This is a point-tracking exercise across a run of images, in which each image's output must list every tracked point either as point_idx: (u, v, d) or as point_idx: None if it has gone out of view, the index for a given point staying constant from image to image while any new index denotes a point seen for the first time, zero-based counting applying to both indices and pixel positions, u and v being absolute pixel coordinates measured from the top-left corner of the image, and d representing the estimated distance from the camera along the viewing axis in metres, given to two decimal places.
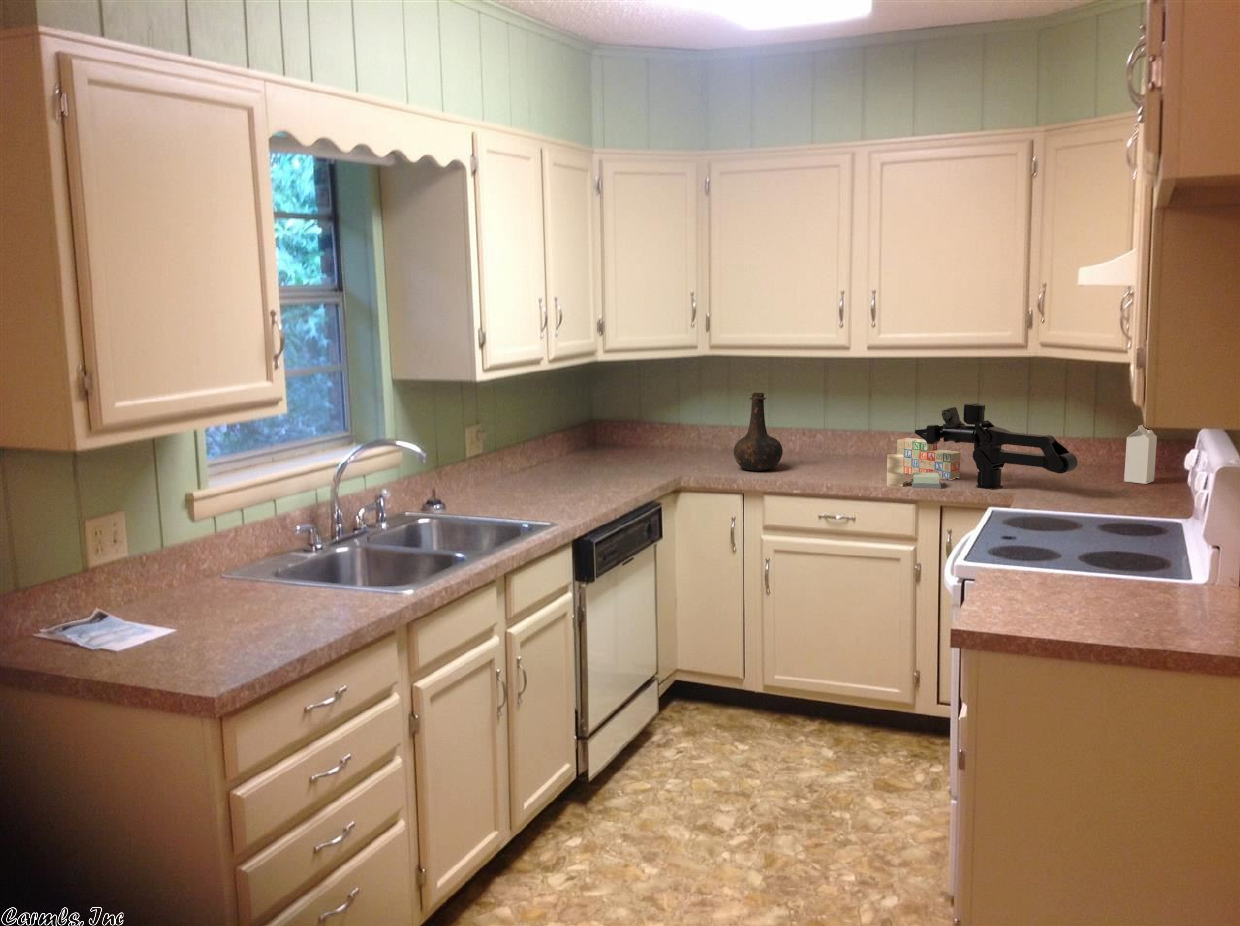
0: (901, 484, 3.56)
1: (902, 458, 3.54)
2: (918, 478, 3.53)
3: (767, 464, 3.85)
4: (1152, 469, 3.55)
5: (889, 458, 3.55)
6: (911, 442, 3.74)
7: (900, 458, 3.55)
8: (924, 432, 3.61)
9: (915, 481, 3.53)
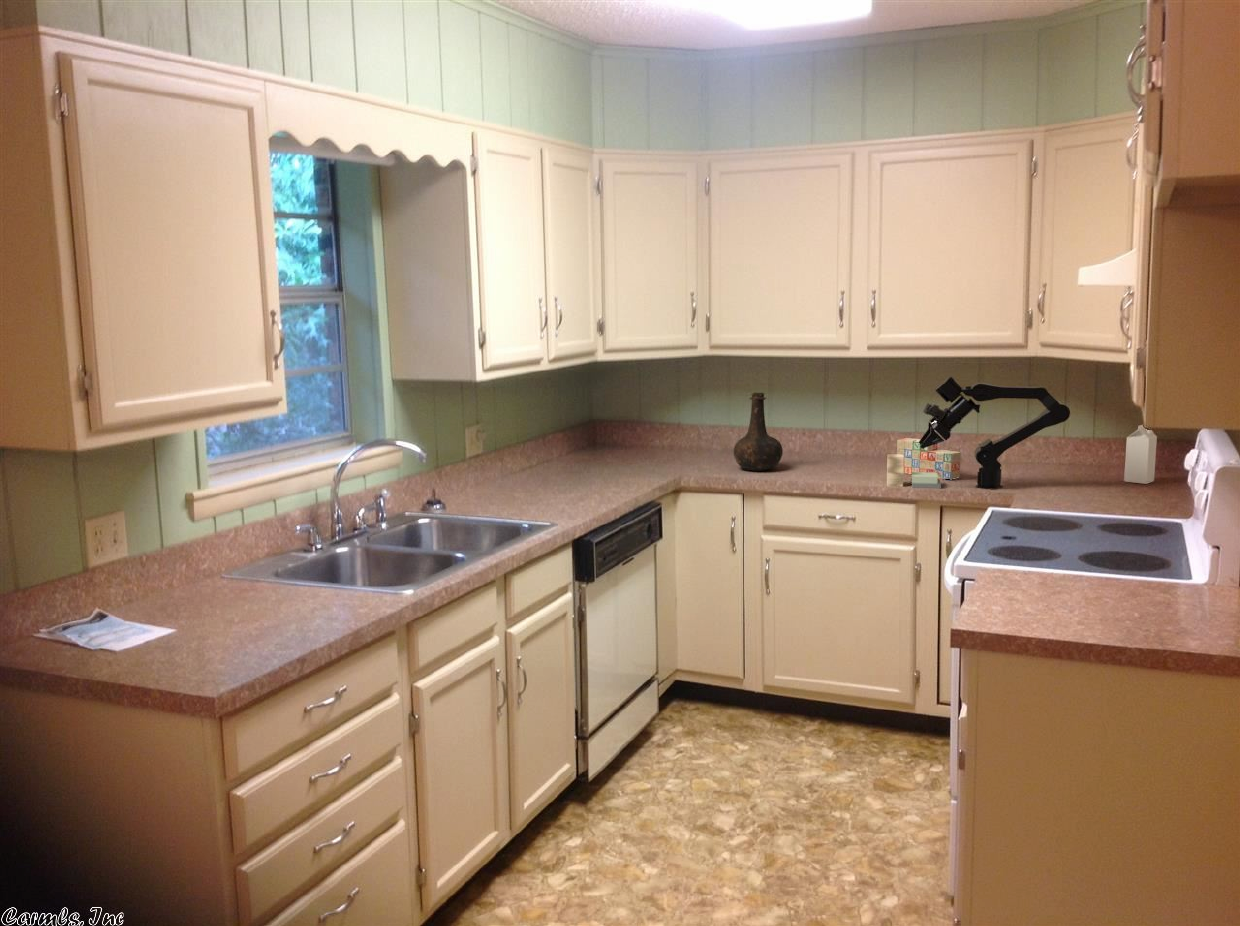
0: (901, 484, 3.56)
1: (902, 458, 3.54)
2: (916, 478, 3.53)
3: (767, 464, 3.85)
4: (1152, 469, 3.55)
5: (889, 458, 3.55)
6: (911, 442, 3.74)
7: (900, 458, 3.55)
8: (931, 438, 3.48)
9: (913, 481, 3.54)
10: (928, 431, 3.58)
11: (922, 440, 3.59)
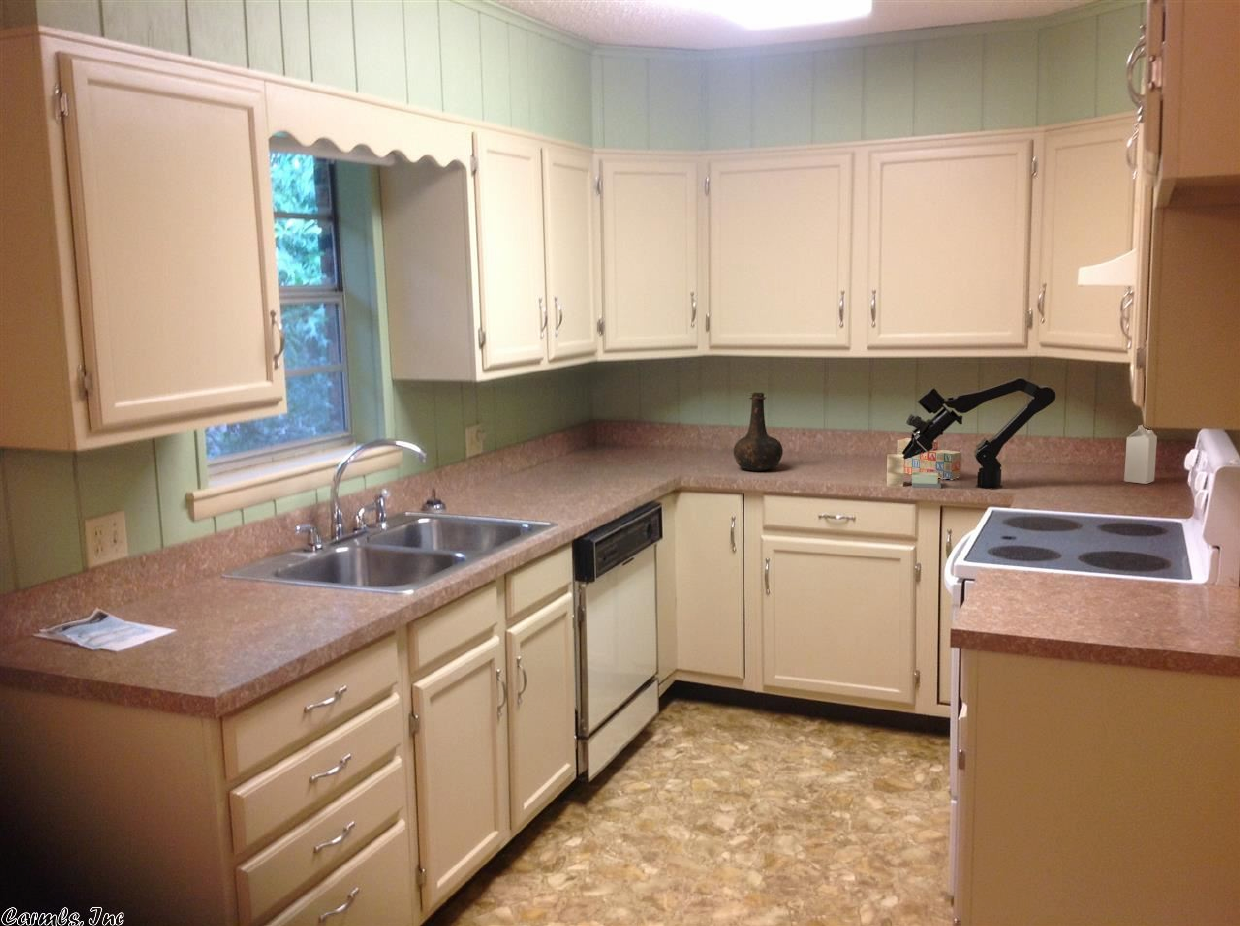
0: (901, 484, 3.56)
1: (902, 458, 3.54)
2: (916, 478, 3.53)
3: (767, 464, 3.85)
4: (1152, 469, 3.55)
5: (889, 458, 3.55)
6: None
7: (900, 458, 3.55)
8: (913, 449, 3.50)
9: (913, 481, 3.54)
10: (911, 442, 3.60)
11: (905, 451, 3.61)
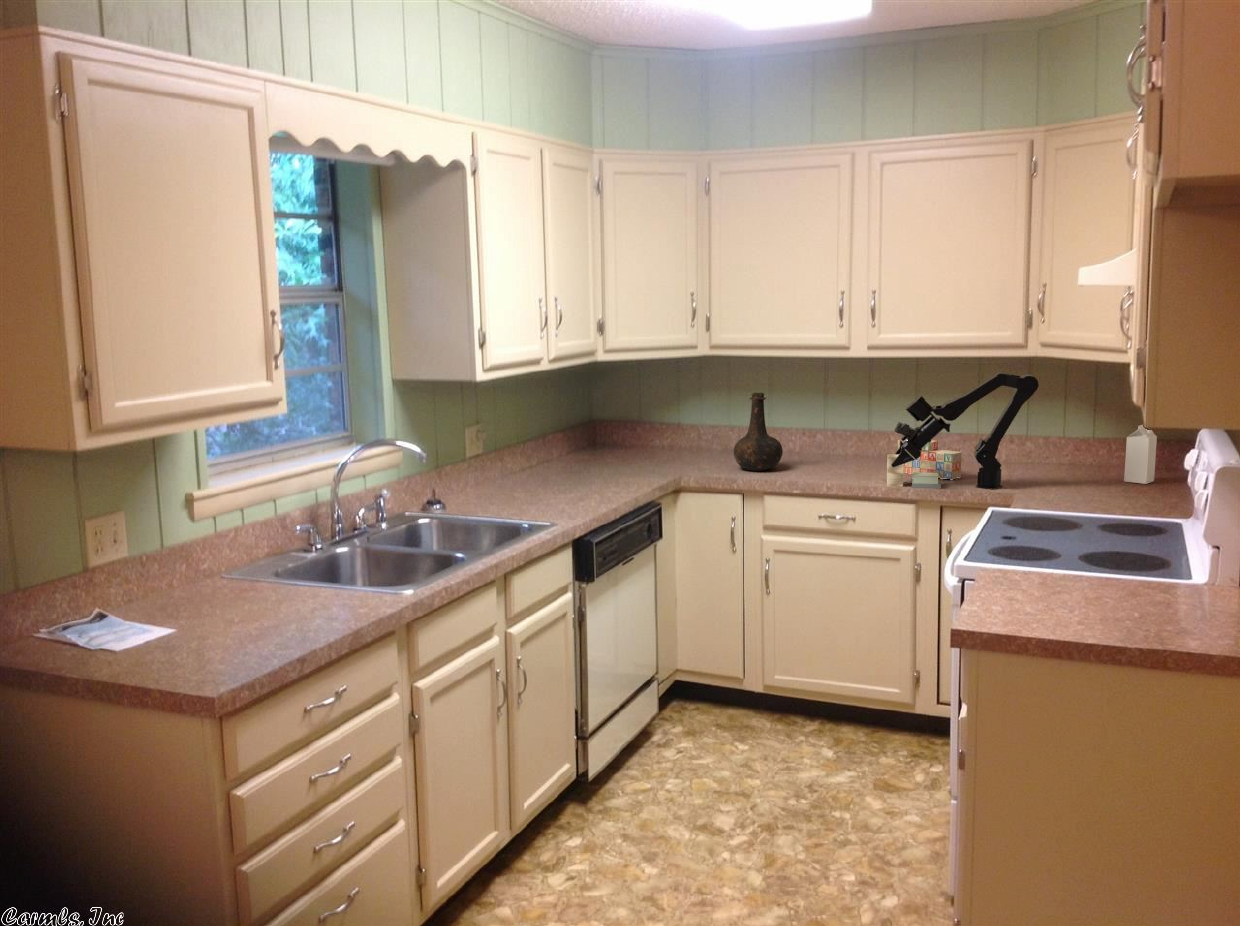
0: (901, 484, 3.56)
1: None
2: (917, 478, 3.53)
3: (767, 464, 3.85)
4: (1152, 469, 3.55)
5: (889, 458, 3.55)
6: None
7: None
8: (901, 457, 3.51)
9: (914, 481, 3.54)
10: (899, 449, 3.61)
11: None
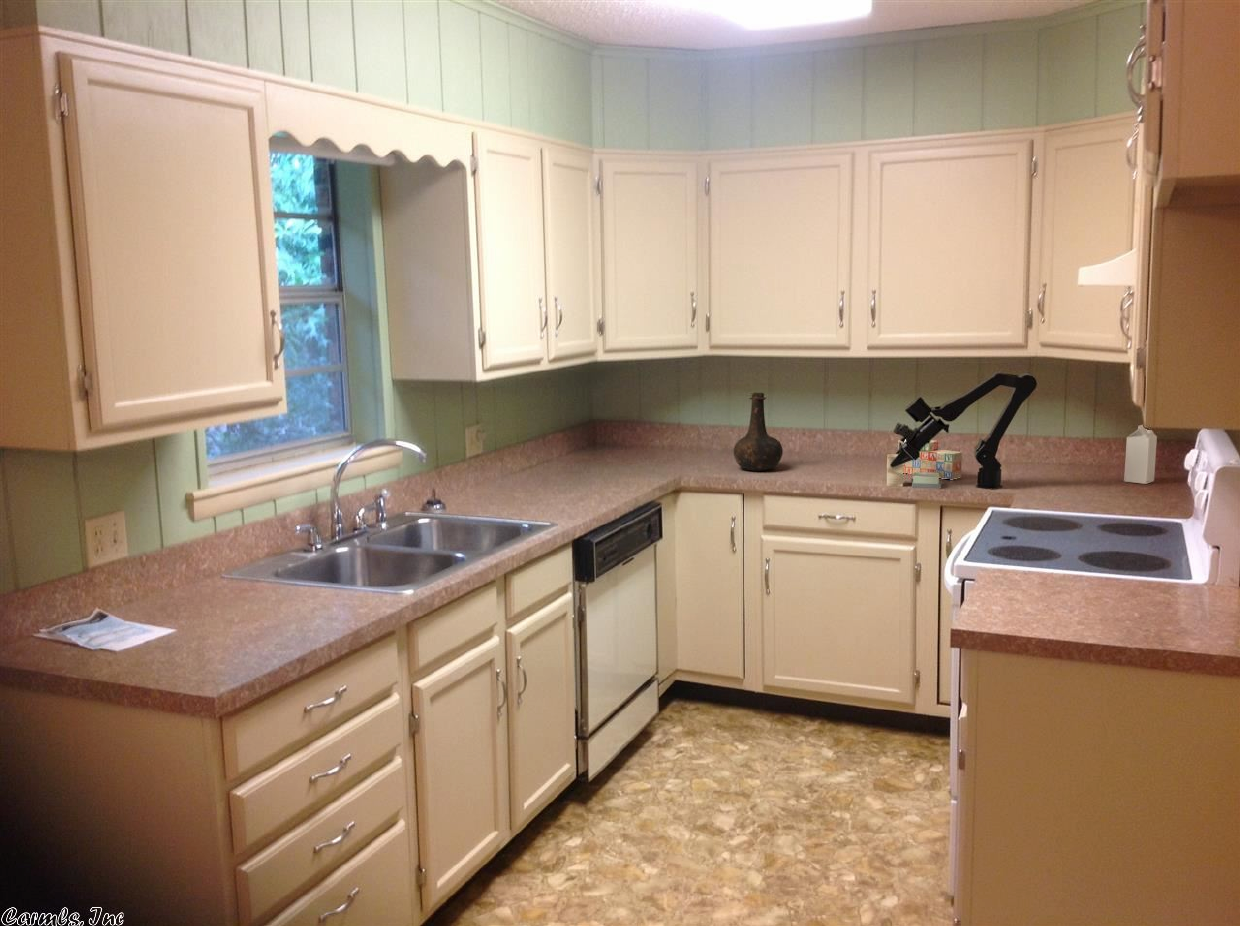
0: (901, 484, 3.56)
1: None
2: (917, 478, 3.53)
3: (767, 464, 3.85)
4: (1152, 469, 3.55)
5: (889, 458, 3.55)
6: None
7: None
8: (900, 457, 3.53)
9: (914, 481, 3.54)
10: (899, 451, 3.60)
11: None
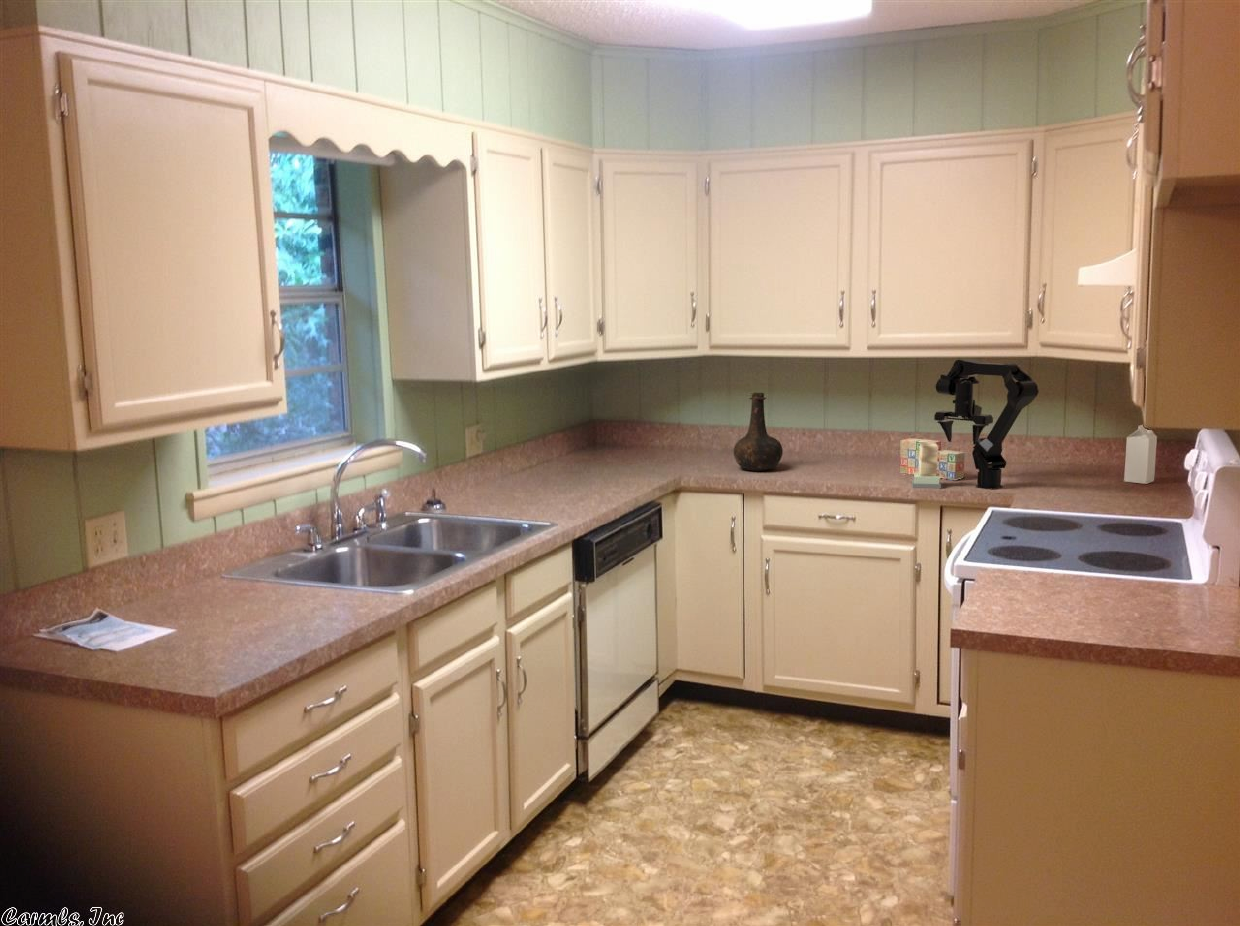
0: (934, 473, 3.53)
1: (937, 448, 3.51)
2: (918, 478, 3.53)
3: (767, 464, 3.85)
4: (1152, 469, 3.55)
5: (924, 447, 3.52)
6: (915, 442, 3.73)
7: (935, 447, 3.51)
8: None
9: (915, 481, 3.54)
10: None
11: None
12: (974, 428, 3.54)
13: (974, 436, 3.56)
